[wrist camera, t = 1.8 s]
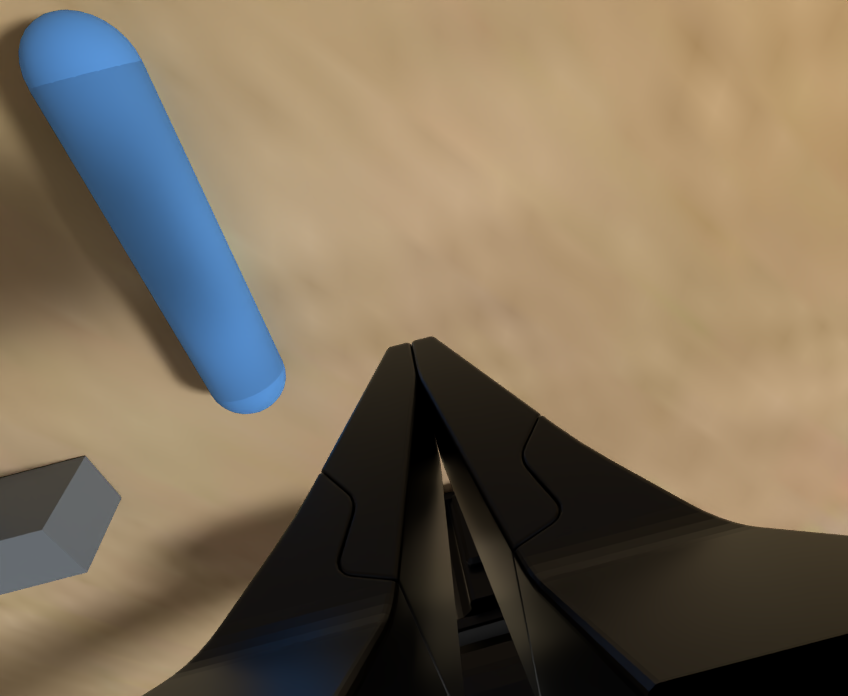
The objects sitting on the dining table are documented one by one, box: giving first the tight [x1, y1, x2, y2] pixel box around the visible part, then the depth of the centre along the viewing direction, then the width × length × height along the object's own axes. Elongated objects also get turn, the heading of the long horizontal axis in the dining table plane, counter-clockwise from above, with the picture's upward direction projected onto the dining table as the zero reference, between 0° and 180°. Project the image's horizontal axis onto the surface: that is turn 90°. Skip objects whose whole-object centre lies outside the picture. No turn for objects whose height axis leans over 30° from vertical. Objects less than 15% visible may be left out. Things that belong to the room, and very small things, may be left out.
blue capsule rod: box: [19, 10, 286, 414], centre depth 17 cm, size 14×3×3 cm, turn 12°
